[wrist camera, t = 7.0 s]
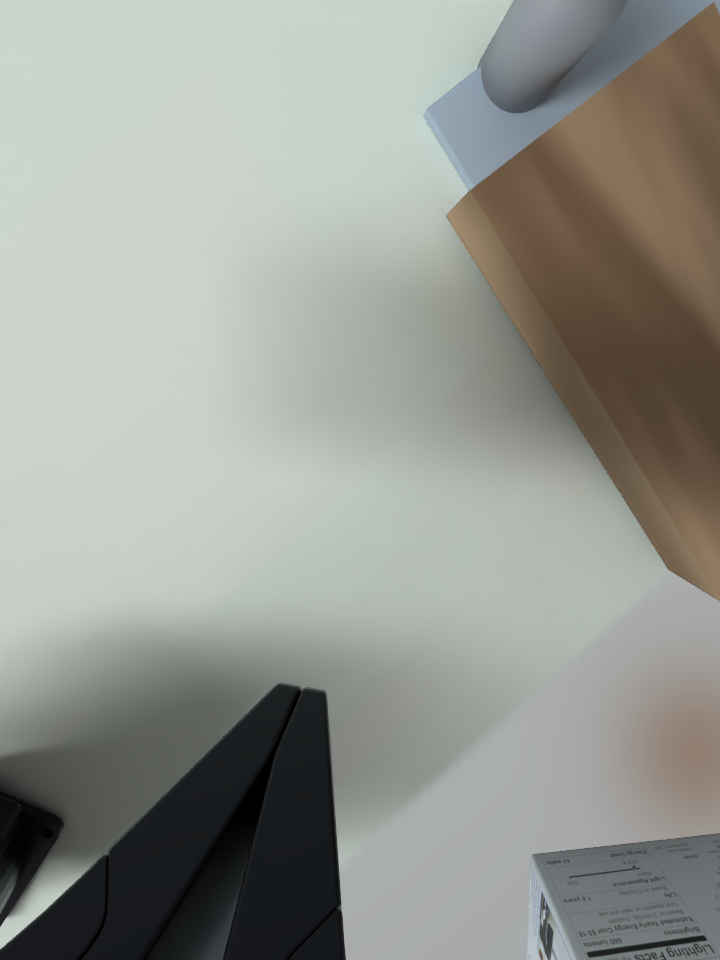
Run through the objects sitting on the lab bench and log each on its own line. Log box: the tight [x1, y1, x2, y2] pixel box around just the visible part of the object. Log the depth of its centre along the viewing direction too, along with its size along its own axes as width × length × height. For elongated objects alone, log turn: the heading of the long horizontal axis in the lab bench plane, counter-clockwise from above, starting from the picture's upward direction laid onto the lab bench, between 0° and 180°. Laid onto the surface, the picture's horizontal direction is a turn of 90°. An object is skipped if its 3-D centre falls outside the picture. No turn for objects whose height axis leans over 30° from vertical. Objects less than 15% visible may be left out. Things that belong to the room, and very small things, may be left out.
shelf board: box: [446, 2, 720, 601], centre depth 18 cm, size 3×16×8 cm
